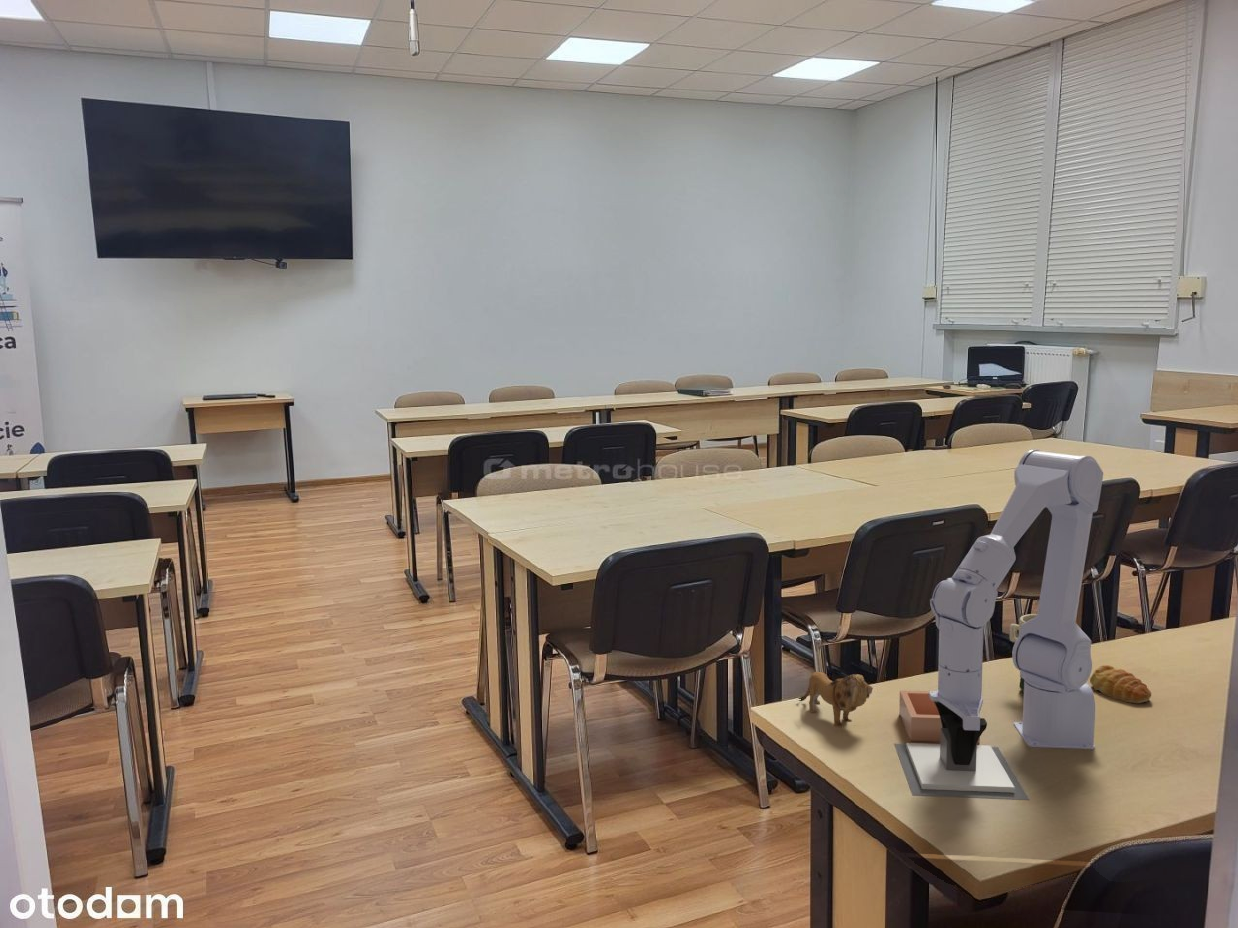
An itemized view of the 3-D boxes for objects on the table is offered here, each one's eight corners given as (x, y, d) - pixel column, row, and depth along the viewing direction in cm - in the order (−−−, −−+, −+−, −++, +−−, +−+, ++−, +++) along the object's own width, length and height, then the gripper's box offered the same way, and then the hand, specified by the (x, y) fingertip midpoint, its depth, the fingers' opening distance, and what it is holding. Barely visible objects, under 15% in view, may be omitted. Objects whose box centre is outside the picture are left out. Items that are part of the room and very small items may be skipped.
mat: (997, 749, 133) (997, 747, 133) (1029, 802, 118) (1029, 799, 118) (894, 746, 135) (894, 743, 135) (912, 797, 120) (912, 795, 120)
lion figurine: (877, 729, 141) (877, 675, 140) (854, 738, 138) (855, 683, 137) (808, 699, 153) (808, 649, 152) (786, 707, 150) (786, 656, 149)
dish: (963, 718, 144) (964, 692, 143) (979, 747, 134) (980, 719, 133) (899, 716, 145) (899, 690, 144) (910, 745, 135) (911, 717, 135)
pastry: (1161, 702, 148) (1163, 680, 147) (1131, 709, 146) (1132, 687, 145) (1113, 681, 157) (1114, 661, 156) (1084, 688, 154) (1085, 667, 154)
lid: (990, 750, 132) (991, 717, 131) (1014, 792, 120) (1015, 756, 119) (906, 748, 133) (906, 715, 133) (922, 789, 122) (922, 753, 121)
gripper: (920, 645, 132) (918, 731, 134) (941, 684, 118) (939, 780, 120) (970, 646, 131) (967, 733, 133) (997, 686, 117) (994, 782, 119)
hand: (957, 756), depth 126 cm, fingers closed on lid, 4 cm apart
